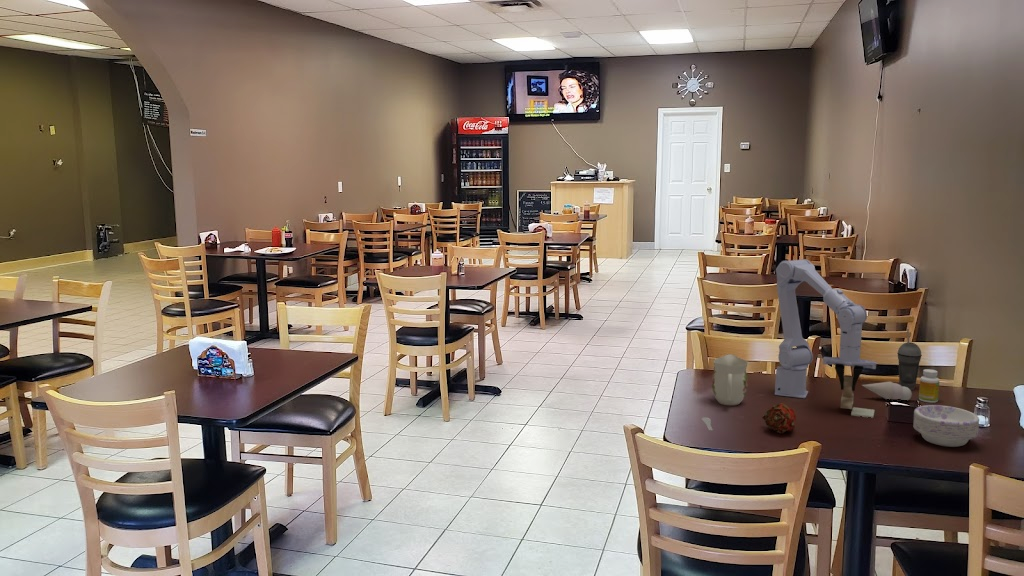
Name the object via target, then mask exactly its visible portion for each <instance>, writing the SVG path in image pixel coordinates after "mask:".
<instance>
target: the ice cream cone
mask: <svg viewBox="0 0 1024 576" xmlns="http://www.w3.org/2000/svg"><path fill="white" fill-rule="evenodd" d="M861 386H862V387H864V388H865V389H866V390H869V391H870V392H872V393H874V394H876V395H877V396H879V397H881V398H883V399H885V400H886V399H889V400H890V399H901V400H907V401H909V400H910V399H911V398H912V396H913V394H912V390H910V389H909V388H907V387H904V386H903V387H902V386H901V385H900V384H899V383H897V382H892V381H891V380H890V381H883V382H876V383H875V382H874V383H868V384H861ZM901 400H900V401H901Z"/></svg>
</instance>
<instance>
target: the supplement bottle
mask: <svg viewBox="0 0 1024 576" xmlns="http://www.w3.org/2000/svg"><path fill="white" fill-rule="evenodd" d="M938 372H939V371H937V370H935V369H932V368H931V369H930V368H929V369H928V368H927V369H926V368H925V369H923V370H922V374H923V375H922V376H921V377H920V378H919V391H918V392H919V393H918V399H919V401H921V402H924V403H929V404H930V403H931V404H933V403H938V401H939V392H940V378H939V377H938Z"/></svg>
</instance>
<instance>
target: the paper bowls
mask: <svg viewBox="0 0 1024 576" xmlns="http://www.w3.org/2000/svg"><path fill="white" fill-rule="evenodd" d="M979 422H980V418H979V416H978V415H977V414H976V413H974V412H971V411H969V410H966V409H964V408H959V407H954V406H949V405H940V404H926V405H921V406H918V407H916V408H915V409H914V411H913V424H912V426H913V429H914V430H915V431H916V432H919V433H920V435H921V437H922V438H923V439H924V440H925V441H926V442H928V443H930V444H933V445H936V446H939V447H940V446H941V447H947V448H949V447H950V448H958V447H962V446H965V445H966V444H967V443H968V442H969V440H973V439H976V438H977V437H978V436H979V425H980V423H979Z"/></svg>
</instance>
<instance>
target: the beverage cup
mask: <svg viewBox="0 0 1024 576" xmlns="http://www.w3.org/2000/svg"><path fill="white" fill-rule="evenodd" d="M909 330H910V329H909V328H907V329H906V334H907V335H906V336H907V337H906V338H907V342H905V343H903V344H901V345H900V346H899V347H898V351H897V360H898V384H899V385H901V386H902V387H903V386H904V387H907V388H909V389H910V390H911V391H912V390H914V391H915V387H916V384H917V379H918V373H919V367H920V362H921V359H922V350H921V348H920V347H919V346H918V344H917V343H914V342H911V341H910V331H909Z"/></svg>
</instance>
